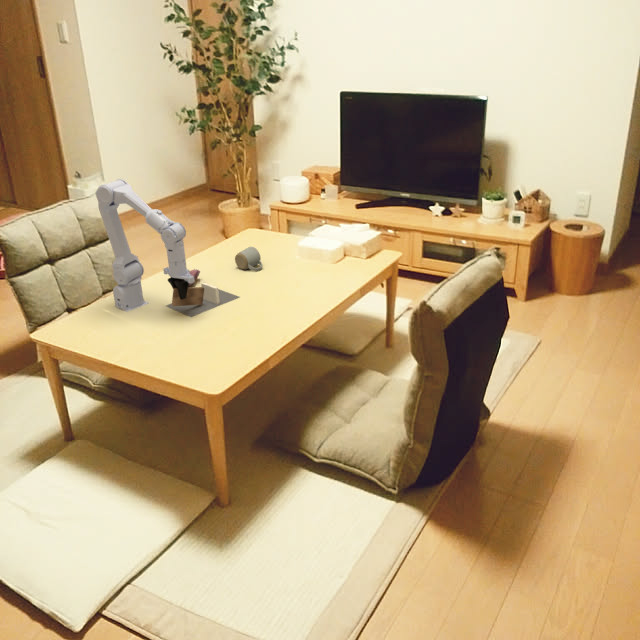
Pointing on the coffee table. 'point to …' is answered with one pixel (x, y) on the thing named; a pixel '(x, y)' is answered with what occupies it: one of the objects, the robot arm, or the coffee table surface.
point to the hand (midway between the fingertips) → (181, 297)
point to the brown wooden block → (188, 297)
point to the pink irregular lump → (195, 274)
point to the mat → (204, 304)
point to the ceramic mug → (248, 259)
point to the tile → (210, 293)
